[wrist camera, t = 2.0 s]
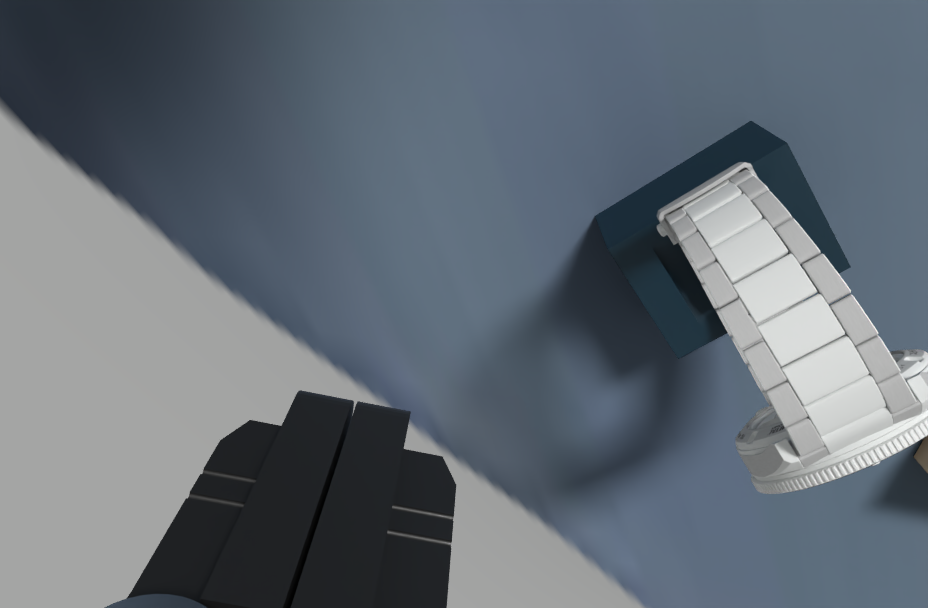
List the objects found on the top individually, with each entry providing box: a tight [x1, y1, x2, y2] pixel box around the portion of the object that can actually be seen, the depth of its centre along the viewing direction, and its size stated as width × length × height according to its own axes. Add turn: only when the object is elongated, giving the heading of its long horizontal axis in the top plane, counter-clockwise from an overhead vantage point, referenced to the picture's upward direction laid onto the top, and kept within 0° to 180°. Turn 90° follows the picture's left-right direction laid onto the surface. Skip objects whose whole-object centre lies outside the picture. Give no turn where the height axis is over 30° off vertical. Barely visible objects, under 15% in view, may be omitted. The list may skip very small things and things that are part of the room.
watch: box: [595, 121, 928, 494], centre depth 19 cm, size 6×8×11 cm
